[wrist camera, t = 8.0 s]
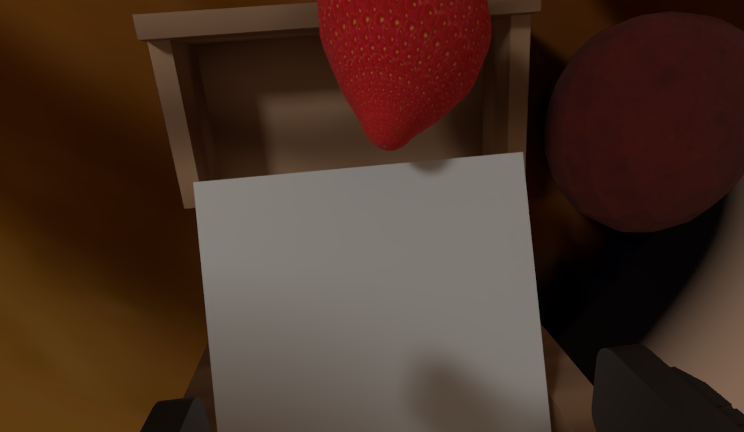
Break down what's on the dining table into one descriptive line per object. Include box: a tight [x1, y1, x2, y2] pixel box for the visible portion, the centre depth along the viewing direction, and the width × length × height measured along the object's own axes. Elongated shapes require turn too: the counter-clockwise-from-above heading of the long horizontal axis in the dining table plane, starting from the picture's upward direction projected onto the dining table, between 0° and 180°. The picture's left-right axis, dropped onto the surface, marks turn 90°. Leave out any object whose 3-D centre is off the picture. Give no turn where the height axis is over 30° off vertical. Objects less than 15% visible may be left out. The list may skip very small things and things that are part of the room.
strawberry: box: [317, 0, 491, 151], centre depth 16 cm, size 6×8×10 cm
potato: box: [544, 11, 744, 232], centre depth 24 cm, size 12×11×8 cm
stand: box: [132, 0, 596, 432], centre depth 21 cm, size 26×18×15 cm
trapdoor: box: [193, 152, 551, 432], centre depth 17 cm, size 20×13×4 cm, turn 4°
